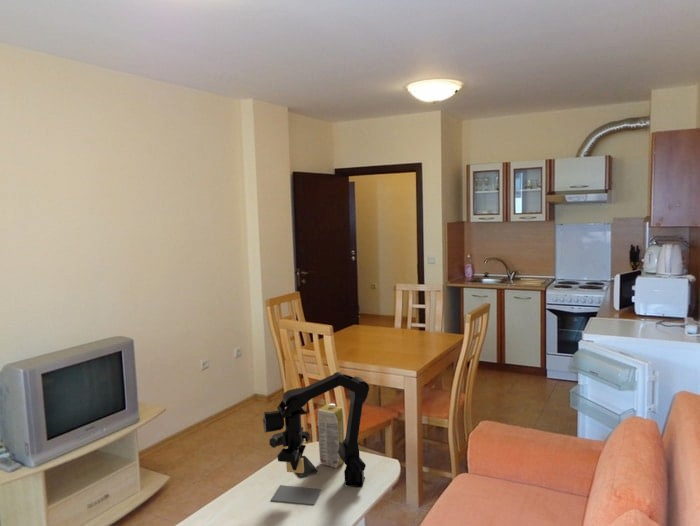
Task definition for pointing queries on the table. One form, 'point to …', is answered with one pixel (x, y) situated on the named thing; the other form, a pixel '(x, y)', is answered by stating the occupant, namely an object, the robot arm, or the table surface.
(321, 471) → the table surface
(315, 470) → the phone
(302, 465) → the ochre block
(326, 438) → the juice carton
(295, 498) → the charcoal mat
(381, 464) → the table surface
